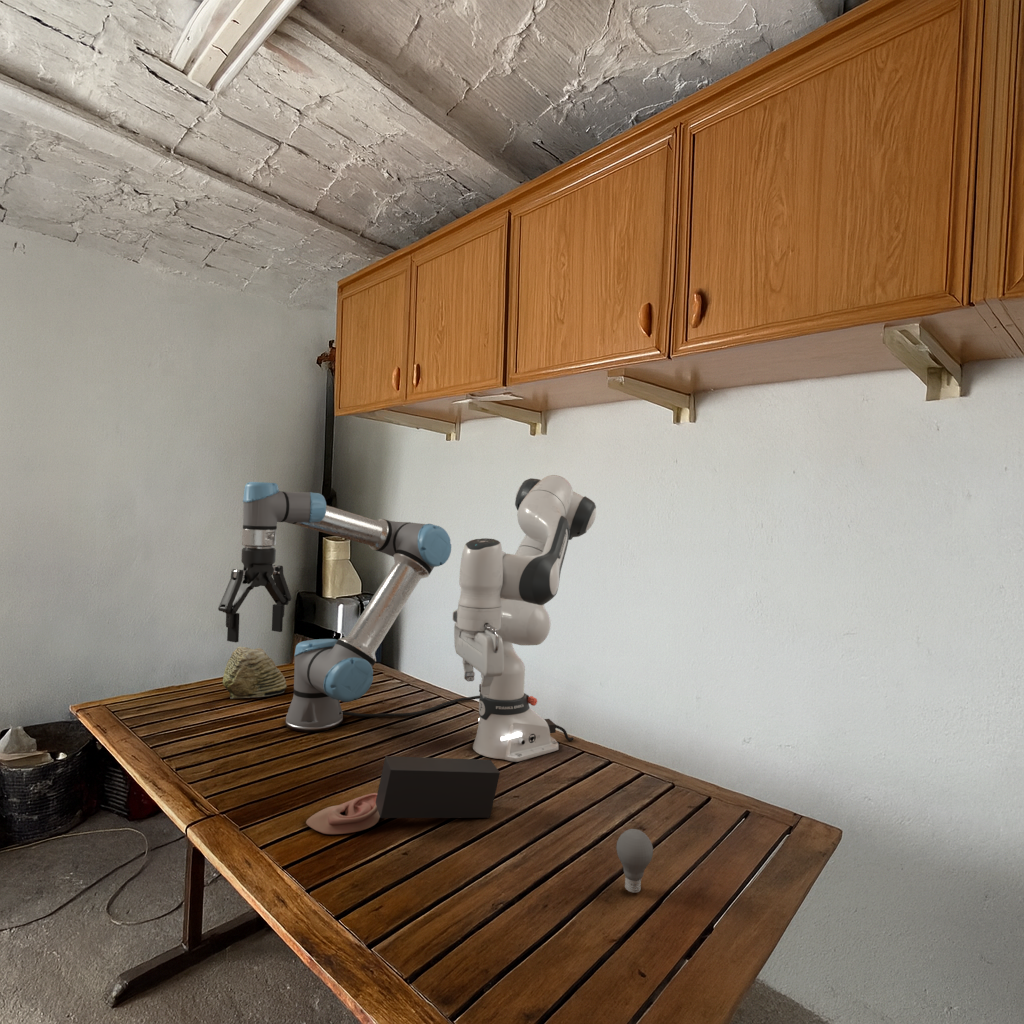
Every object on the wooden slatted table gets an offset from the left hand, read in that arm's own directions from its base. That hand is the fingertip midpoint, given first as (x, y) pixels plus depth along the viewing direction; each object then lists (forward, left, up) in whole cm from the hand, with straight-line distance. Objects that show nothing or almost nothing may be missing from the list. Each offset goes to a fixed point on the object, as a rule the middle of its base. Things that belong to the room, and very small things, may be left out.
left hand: (255, 636), depth 151 cm
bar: (-10, +52, -28) cm, 59 cm away
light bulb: (-16, +93, -29) cm, 99 cm away
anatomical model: (+3, +40, -29) cm, 49 cm away
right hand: (-17, +56, -3) cm, 58 cm away
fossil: (-25, -44, -29) cm, 58 cm away
